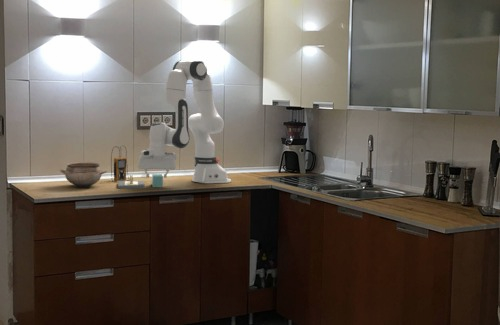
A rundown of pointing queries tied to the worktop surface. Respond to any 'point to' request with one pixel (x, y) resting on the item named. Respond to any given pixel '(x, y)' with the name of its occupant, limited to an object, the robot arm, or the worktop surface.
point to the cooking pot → (83, 173)
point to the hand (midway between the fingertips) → (156, 177)
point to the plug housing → (157, 180)
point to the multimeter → (119, 168)
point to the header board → (131, 184)
